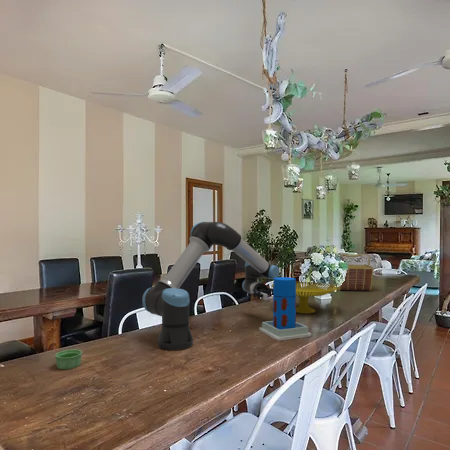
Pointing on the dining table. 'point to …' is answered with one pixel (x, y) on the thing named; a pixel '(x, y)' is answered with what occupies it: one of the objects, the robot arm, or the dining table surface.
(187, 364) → the dining table surface
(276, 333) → the holder
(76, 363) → the ramekin
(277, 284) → the leaf-print tea canister
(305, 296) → the yellow pedestal fruit bowl
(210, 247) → the robot arm
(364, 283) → the picnic basket
